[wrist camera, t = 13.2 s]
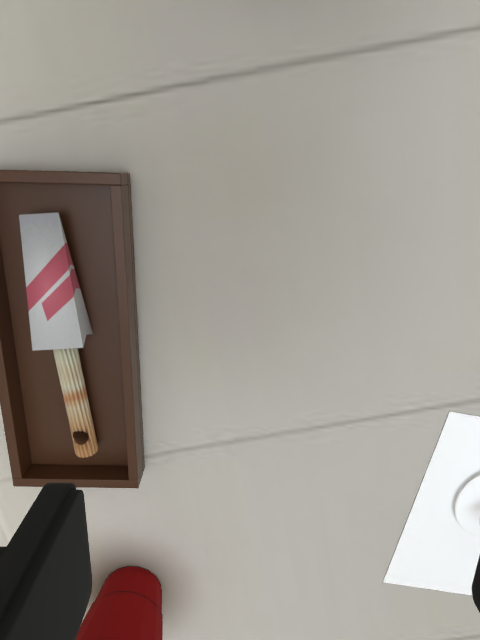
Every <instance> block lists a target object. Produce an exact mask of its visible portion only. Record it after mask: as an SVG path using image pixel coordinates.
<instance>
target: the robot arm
mask: <svg viewBox="0 0 480 640" xmlns="http://www.w3.org/2000/svg"><path fill="white" fill-rule="evenodd" d="M91 590H92V573H91V563H90V553H89V543H88V533H87V523H86V513H85V503H84V494H83V491H82V490H76V486H75V484H74V483H47V484H45V486H44V487H43V489H42V490H41V492H40V493H39V495H38V497H37V498H36V500H35V502H34V503H33V505H32V506H31V508H30V510H29V511H28V513H27V515H26V516H25V518H24V519H23V521H22V523H21V524H20V526H19V528H18V529H17V531H16V532H15V534H14V536H13V537H12V539H11V541H10V542H9V544H8V545H7V547H0V640H76V637H77V634H78V631H79V628H80V625H81V622H82V619H83V616H84V614H85V611H86V608H87V605H88V602H89V599H90V595H91ZM472 596H473V600H474V602H475V605H476V607H477V608H478V610H479V612H480V555H479V559H478V563H477V567H476V571H475V575H474V579H473V583H472Z"/></svg>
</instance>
